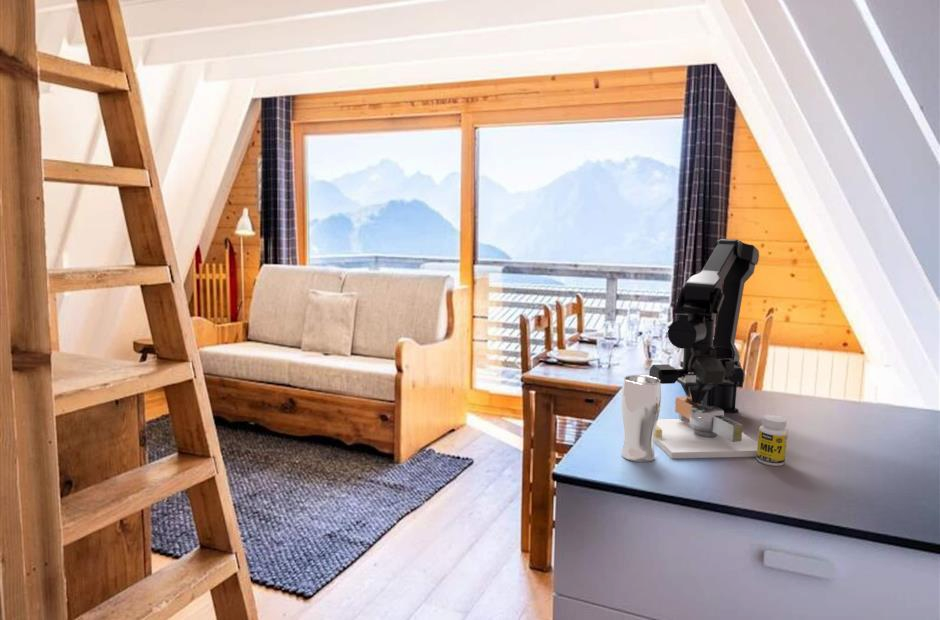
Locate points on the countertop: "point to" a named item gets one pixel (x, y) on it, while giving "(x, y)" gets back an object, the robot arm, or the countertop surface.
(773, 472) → the countertop surface
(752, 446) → the coupling board
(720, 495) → the countertop surface
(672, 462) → the countertop surface
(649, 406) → the beer glass
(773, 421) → the supplement bottle
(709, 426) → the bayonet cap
